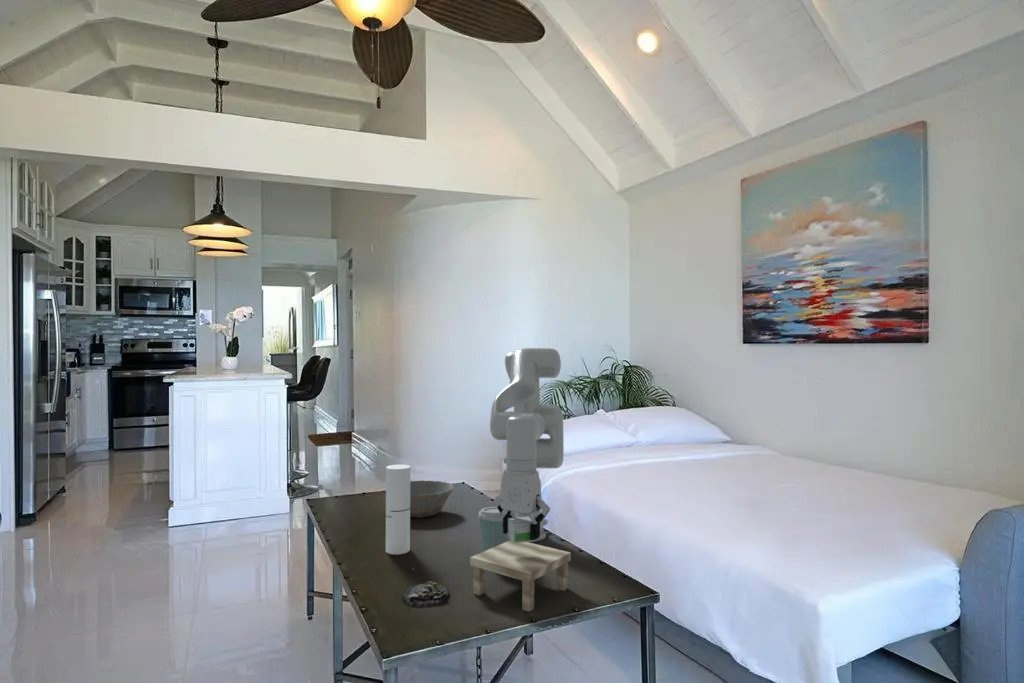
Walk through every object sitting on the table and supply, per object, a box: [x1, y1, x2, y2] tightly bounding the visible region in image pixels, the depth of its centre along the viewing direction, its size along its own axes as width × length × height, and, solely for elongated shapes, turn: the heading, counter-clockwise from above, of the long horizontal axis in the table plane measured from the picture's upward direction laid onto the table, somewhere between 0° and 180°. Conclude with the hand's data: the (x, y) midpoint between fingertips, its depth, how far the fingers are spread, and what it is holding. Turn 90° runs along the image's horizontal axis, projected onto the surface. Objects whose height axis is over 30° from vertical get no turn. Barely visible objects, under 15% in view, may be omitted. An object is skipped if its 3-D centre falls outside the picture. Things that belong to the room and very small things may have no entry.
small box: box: [508, 517, 535, 543], centre depth 151 cm, size 6×6×5 cm
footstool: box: [469, 540, 572, 612], centre depth 151 cm, size 18×18×9 cm
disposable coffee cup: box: [478, 506, 515, 552], centre depth 172 cm, size 11×11×15 cm
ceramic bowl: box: [410, 480, 455, 519], centre depth 220 cm, size 22×23×10 cm
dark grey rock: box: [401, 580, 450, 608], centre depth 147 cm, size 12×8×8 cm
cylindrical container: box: [385, 464, 411, 556], centre depth 181 cm, size 7×7×25 cm
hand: (521, 535), depth 151 cm, fingers closed on small box, 7 cm apart
